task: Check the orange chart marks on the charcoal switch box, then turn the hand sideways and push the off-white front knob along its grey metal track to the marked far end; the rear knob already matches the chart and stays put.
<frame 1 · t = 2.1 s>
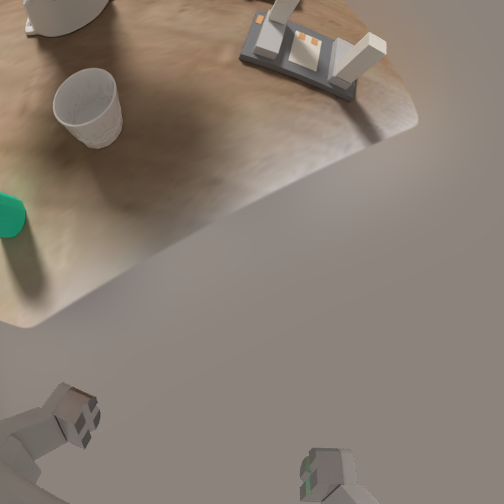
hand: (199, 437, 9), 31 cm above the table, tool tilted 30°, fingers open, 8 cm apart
white cup: (100, 127, 36), on the table
switch box: (302, 54, 43), on the table
candle: (11, 217, 33), on the table
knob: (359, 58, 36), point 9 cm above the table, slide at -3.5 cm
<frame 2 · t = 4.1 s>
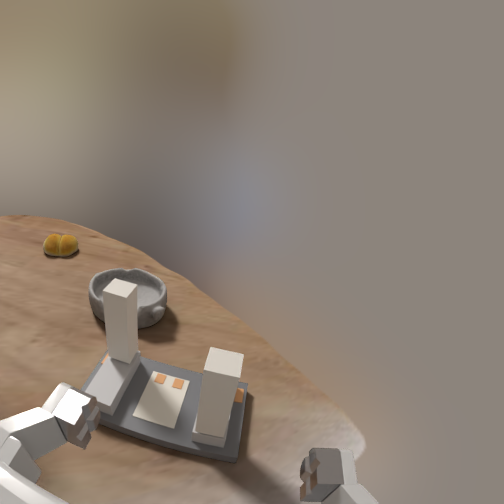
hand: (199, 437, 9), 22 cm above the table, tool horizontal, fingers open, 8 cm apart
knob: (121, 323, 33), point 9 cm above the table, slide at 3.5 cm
bread roll: (60, 251, 62), on the table
switch box: (162, 405, 33), on the table
dish: (127, 308, 50), on the table
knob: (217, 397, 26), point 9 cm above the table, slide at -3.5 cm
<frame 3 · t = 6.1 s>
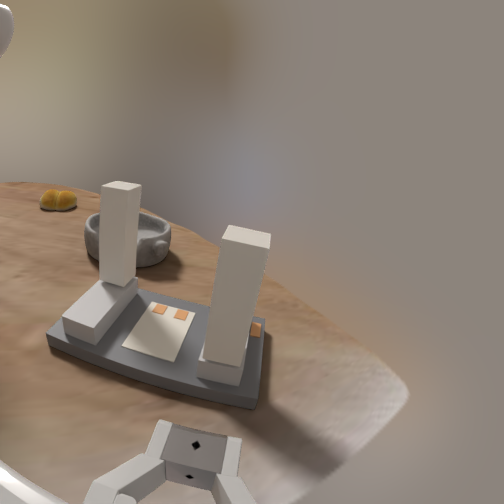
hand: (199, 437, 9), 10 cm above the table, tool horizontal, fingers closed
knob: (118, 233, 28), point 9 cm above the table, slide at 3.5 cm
bread roll: (57, 207, 57), on the table
switch box: (160, 340, 28), on the table
dish: (126, 251, 45), on the table
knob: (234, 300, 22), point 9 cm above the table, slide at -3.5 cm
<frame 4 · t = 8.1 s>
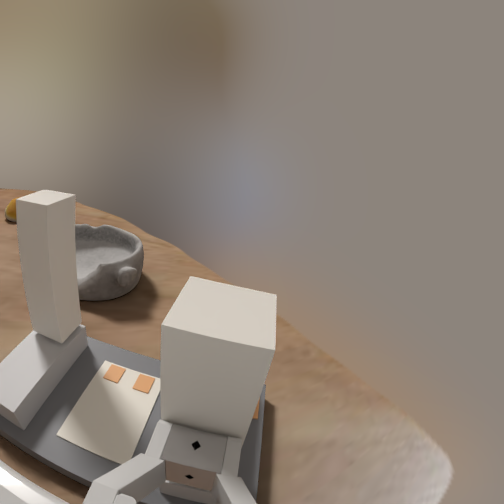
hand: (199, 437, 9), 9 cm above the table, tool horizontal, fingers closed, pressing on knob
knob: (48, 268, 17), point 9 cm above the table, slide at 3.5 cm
bread roll: (25, 218, 46), on the table
switch box: (115, 420, 17), on the table
dish: (90, 276, 34), on the table
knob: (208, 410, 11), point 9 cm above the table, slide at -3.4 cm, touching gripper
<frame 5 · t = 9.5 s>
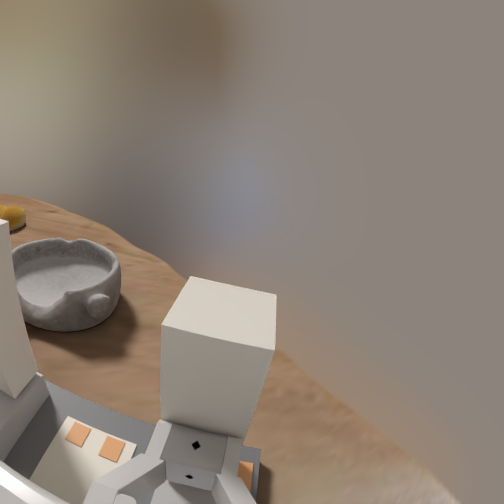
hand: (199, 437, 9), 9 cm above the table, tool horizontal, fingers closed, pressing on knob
bread roll: (4, 227, 40), on the table
switch box: (82, 487, 11), on the table
dish: (63, 299, 28), on the table
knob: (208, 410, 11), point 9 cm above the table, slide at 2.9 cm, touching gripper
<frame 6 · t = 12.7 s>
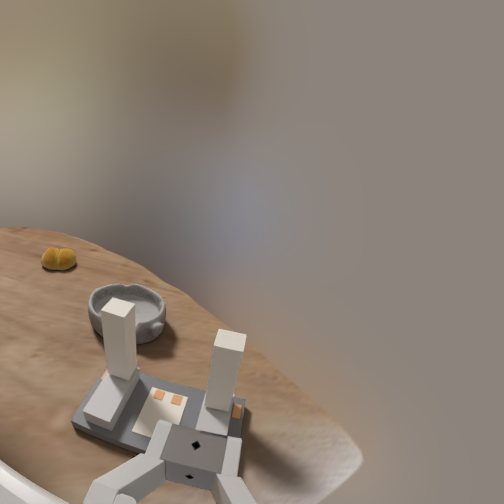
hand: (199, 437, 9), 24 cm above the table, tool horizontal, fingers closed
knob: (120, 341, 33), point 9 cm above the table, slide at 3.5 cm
bread roll: (58, 265, 62), on the table
switch box: (161, 420, 32), on the table
dish: (126, 323, 50), on the table
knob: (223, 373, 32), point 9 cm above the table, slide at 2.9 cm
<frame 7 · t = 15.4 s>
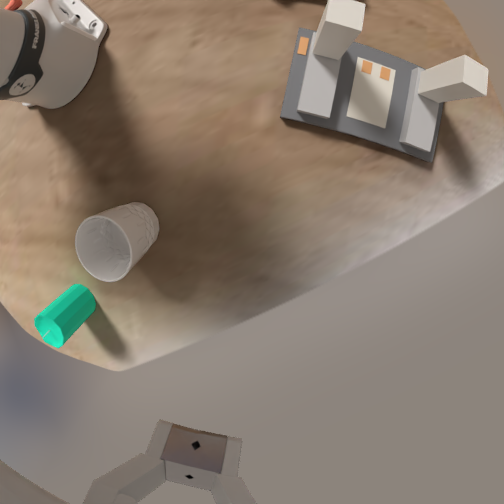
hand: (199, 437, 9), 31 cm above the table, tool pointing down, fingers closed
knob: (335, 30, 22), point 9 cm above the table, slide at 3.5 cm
white cup: (138, 224, 40), on the table
switch box: (368, 93, 31), on the table
candle: (82, 298, 46), on the table
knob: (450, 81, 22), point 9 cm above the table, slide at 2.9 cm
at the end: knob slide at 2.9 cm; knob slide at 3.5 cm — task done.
